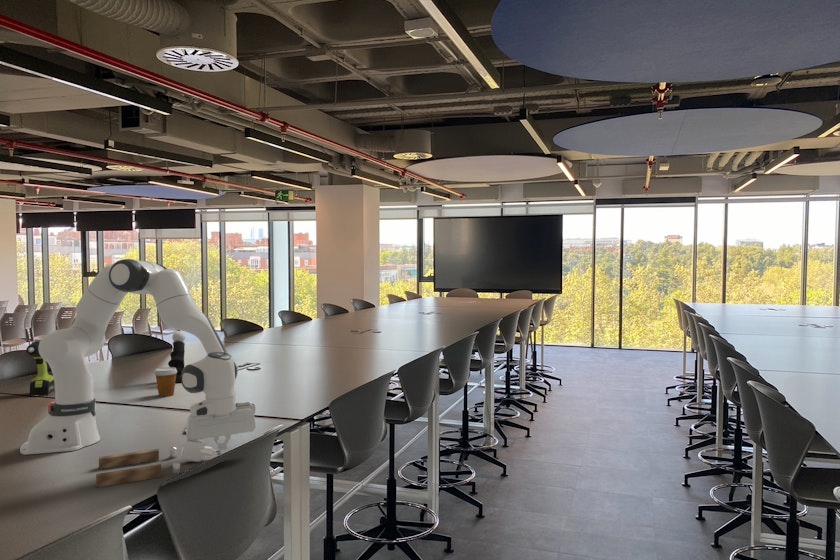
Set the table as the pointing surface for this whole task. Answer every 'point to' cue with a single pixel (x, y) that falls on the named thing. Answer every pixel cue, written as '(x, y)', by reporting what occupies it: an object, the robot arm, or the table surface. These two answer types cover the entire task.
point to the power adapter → (196, 450)
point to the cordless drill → (40, 373)
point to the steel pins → (176, 464)
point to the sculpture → (178, 354)
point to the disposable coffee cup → (166, 380)
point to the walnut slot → (128, 474)
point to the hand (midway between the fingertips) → (222, 449)
